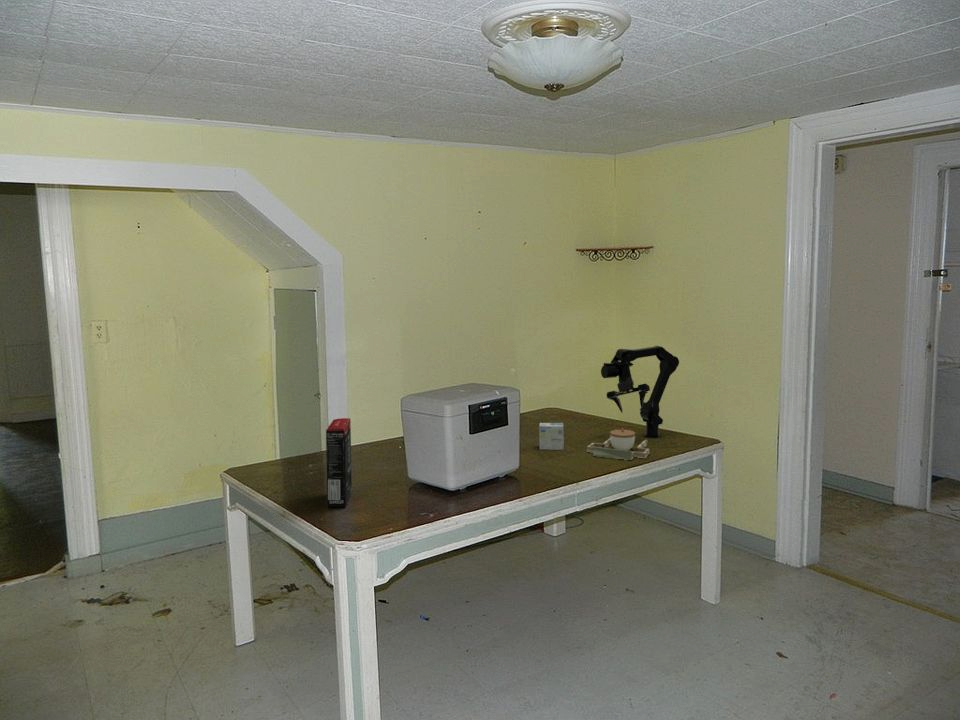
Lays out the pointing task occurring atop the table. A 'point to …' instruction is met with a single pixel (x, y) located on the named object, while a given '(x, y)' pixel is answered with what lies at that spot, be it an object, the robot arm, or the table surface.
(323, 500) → the table surface
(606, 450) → the trap lane
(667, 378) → the robot arm
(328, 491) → the graphics card box
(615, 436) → the lidded jar
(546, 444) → the light bulb box
